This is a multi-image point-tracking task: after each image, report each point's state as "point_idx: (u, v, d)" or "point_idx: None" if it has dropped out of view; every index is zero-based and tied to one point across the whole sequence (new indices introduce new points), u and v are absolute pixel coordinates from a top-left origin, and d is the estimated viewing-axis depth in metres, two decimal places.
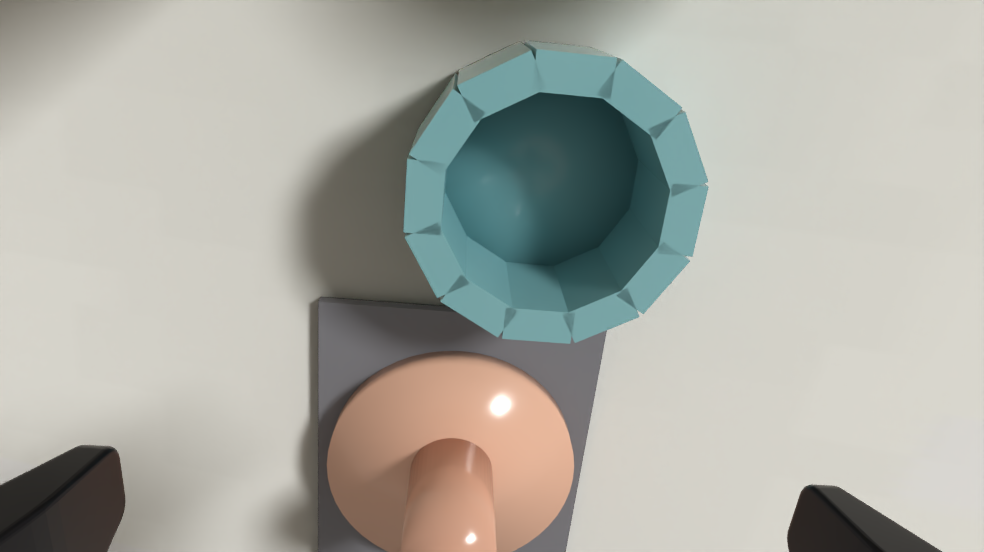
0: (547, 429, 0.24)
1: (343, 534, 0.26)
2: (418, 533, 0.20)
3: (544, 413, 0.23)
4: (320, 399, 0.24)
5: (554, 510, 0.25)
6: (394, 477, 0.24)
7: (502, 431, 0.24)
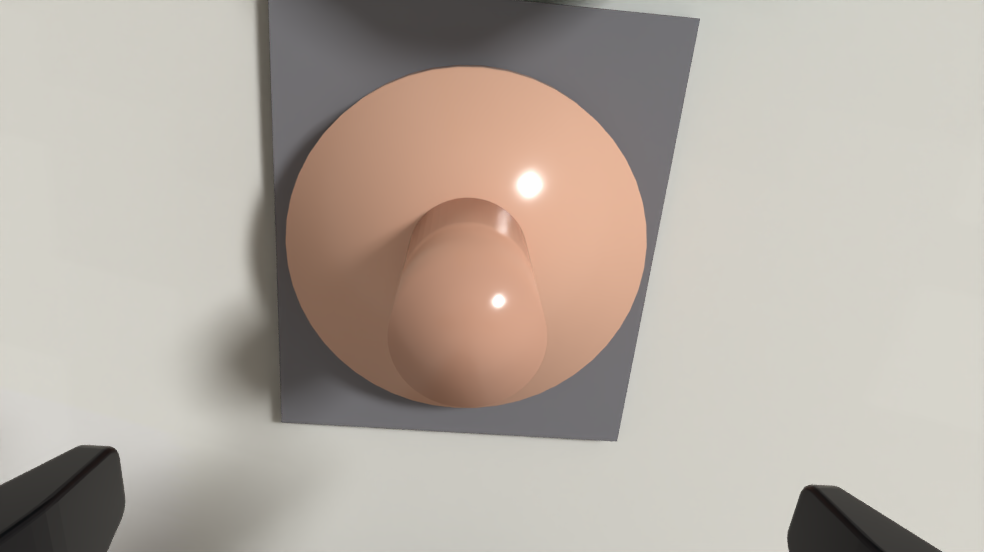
0: (609, 183, 0.16)
1: (315, 370, 0.19)
2: (421, 274, 0.12)
3: (606, 156, 0.16)
4: (275, 147, 0.16)
5: (615, 320, 0.17)
6: (385, 263, 0.17)
7: (544, 186, 0.16)
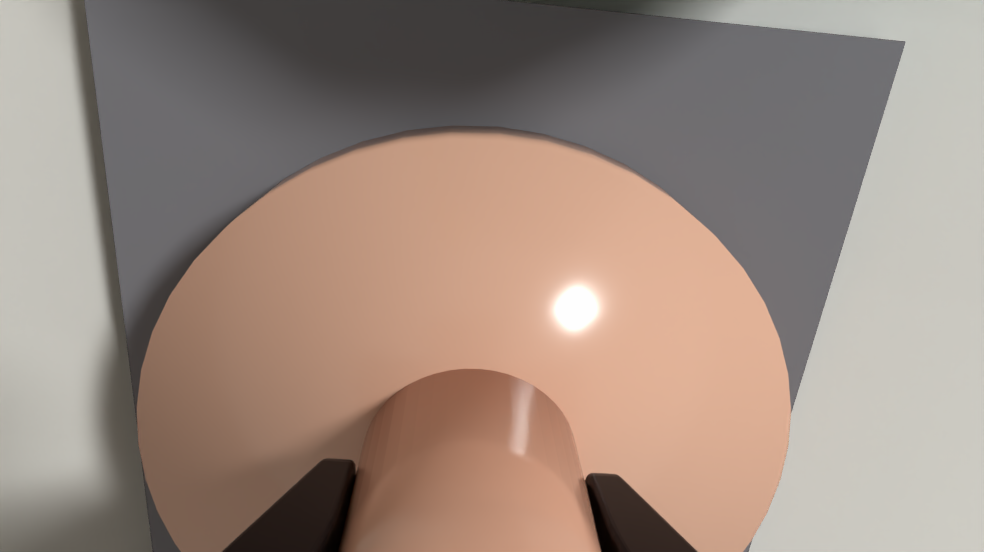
0: (731, 343, 0.09)
1: None
2: None
3: (727, 297, 0.08)
4: (122, 270, 0.09)
5: None
6: None
7: (610, 350, 0.09)
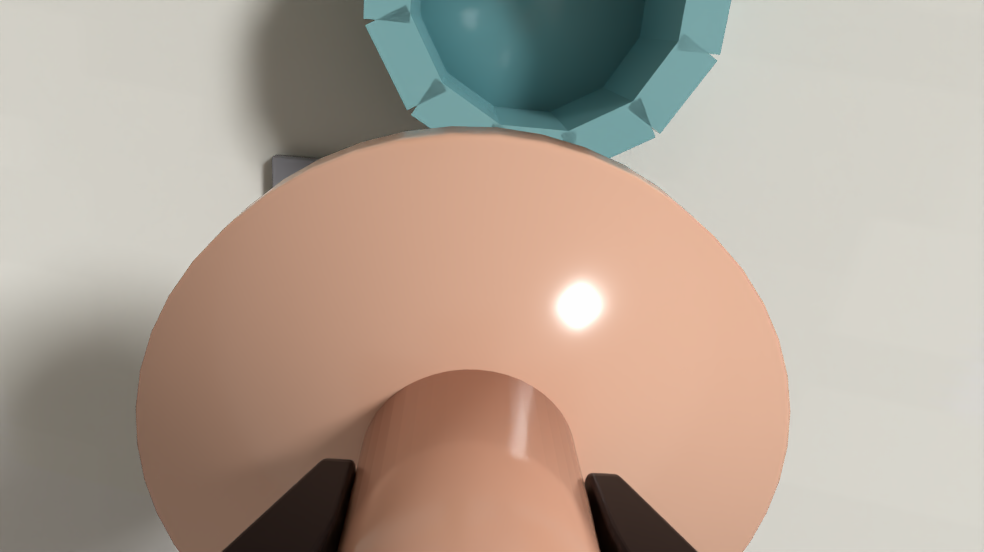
0: (730, 343, 0.09)
1: None
2: None
3: (726, 297, 0.08)
4: None
5: None
6: None
7: (609, 350, 0.09)
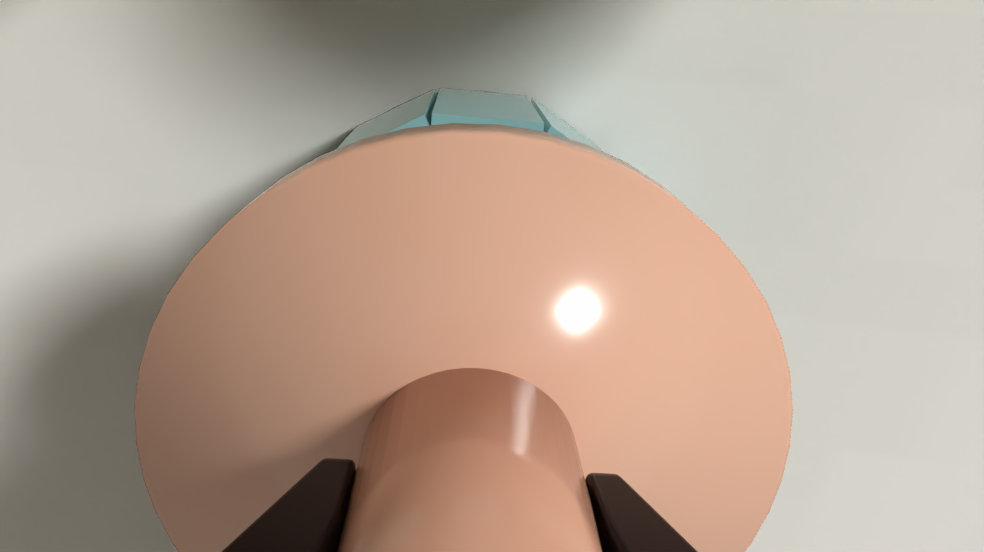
0: (732, 341, 0.09)
1: None
2: None
3: (729, 295, 0.08)
4: None
5: None
6: None
7: (610, 348, 0.09)
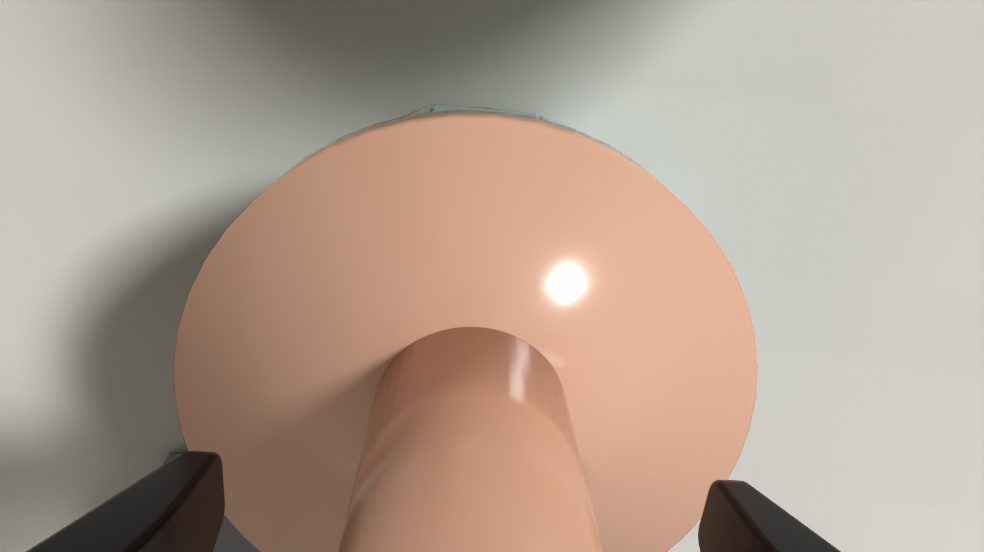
0: (702, 303, 0.10)
1: None
2: None
3: (699, 262, 0.10)
4: None
5: (700, 502, 0.11)
6: (336, 425, 0.10)
7: (595, 309, 0.10)
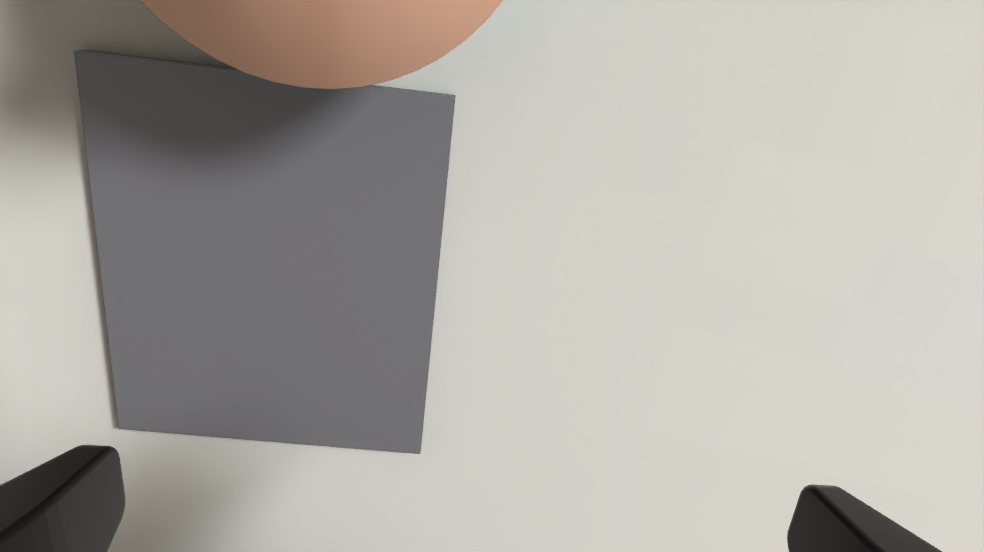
0: None
1: (144, 384, 0.21)
2: None
3: None
4: (93, 194, 0.19)
5: None
6: None
7: None
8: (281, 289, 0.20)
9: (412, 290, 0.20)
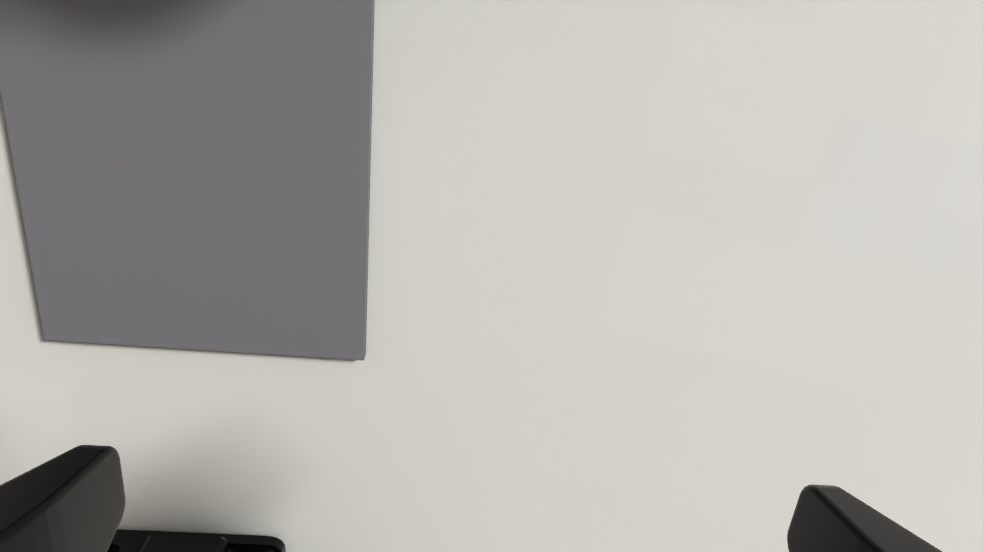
0: None
1: (68, 289, 0.20)
2: None
3: None
4: None
5: None
6: None
7: None
8: (205, 176, 0.19)
9: (343, 174, 0.19)
